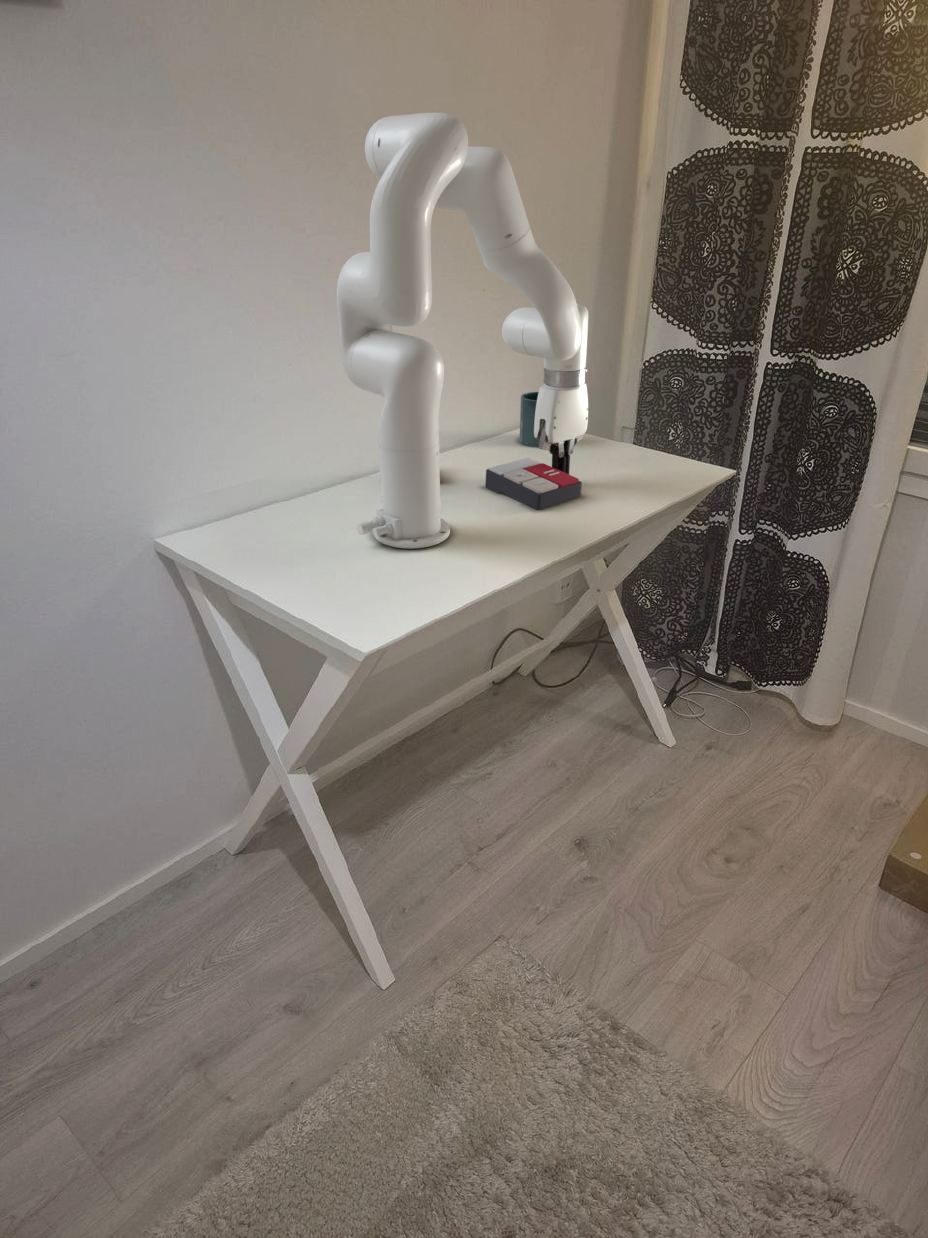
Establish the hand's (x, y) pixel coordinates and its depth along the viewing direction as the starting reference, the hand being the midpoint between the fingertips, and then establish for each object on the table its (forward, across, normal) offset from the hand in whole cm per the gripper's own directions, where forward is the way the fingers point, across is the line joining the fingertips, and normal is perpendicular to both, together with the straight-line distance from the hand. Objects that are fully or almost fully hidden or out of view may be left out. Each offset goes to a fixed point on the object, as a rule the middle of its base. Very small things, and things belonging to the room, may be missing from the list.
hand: (560, 474), depth 154 cm
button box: (+2, +7, 0) cm, 7 cm away
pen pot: (+3, -16, -23) cm, 28 cm away
